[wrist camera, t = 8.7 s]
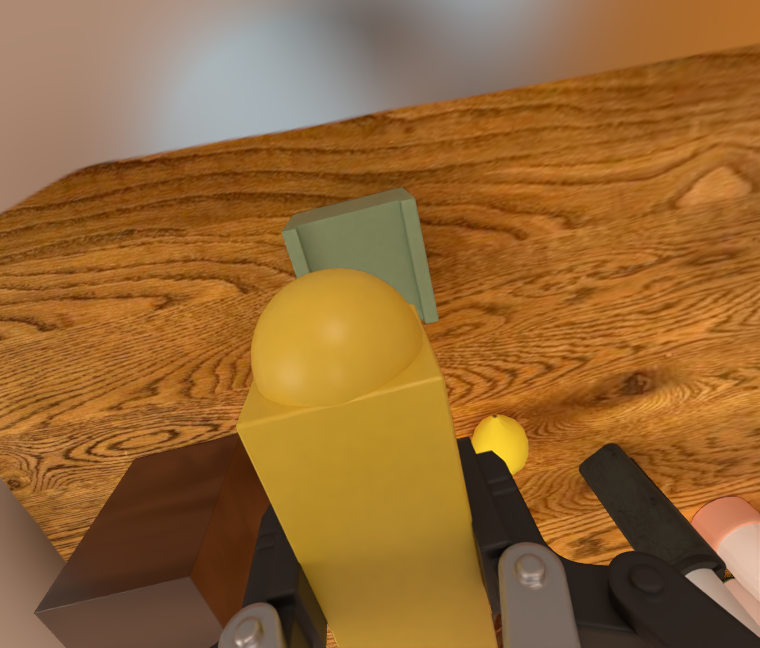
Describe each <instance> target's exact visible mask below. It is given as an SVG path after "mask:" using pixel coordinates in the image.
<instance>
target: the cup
mask: <svg viewBox="0 0 760 648" xmlns="http://www.w3.org/2000/svg"><path fill="white" fill-rule="evenodd" d="M722 583H723V584H724V585H725V586H726V587H727V588H728V590H729V591H730V592H731V593H732V594H733V596H734V597H735V598H736V599H737V600H738V601H739V603H740V604H741V605H742V606H743V607H744V609H745V610H746V611H747V612H748V613H749V614H750V616H751V617H752V618H753V619H754V620H755V622H756V623H757V624H758V625H759V626H760V602H759V601H758V600H757V599H756V598H755V597H754V596H753V595H751V594H750V593H749V592H748V591H747V590H746V589H745V588H744V587H743V586H742V585H741V584H740V583H739V582H738V580H737V579H736V578H729V579H726V580H724V581H723V582H722Z"/></svg>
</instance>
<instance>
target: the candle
mask: <svg viewBox="0 0 760 648" xmlns="http://www.w3.org/2000/svg"><path fill="white" fill-rule="evenodd" d="M579 471H580V473H581V475H582V476H583V477H584V479H585V480H586V482H587V483H588V485H589V486H590V487H591V489H592V490H593V492H594V493H595V495H596V496H597V497H598V499H599V500H600V502H601V503H602V505H603V506H604V508H605V509H606V510H607V512H608V513H609V515H610V516H611V518H612V519H613V520H614V522H615V523H616V525H617V526H618V528H619V529H620V530H621V532H622V533H623V535H624V536H625V538H626V539H627V540H628V542H629V543H630V545H631V546H632V548H633V549H634V551H640V552H646V553H649V554H653V555H655V556H657V557H659V558H661V559H663V560H665V561H666V562H668V563H669V564H670V565H672V566H673V567H674V568H675V569H677V570H678V571H679V572H680V573H681V574H683V575H684V576H685V577H686V578H688V579H689V580H690V581H691V582H692V583H694V584H695V585H696V586H697V587H699V588H700V589H701V590H702V591H703V592H705V593H706V594H707V595H708V596H710V597H711V598H712V599H713V600H714V601H716V602H717V603H718V604H719V605H721V606H722V607H723V608H724V609H725V610H727V611H728V612H729V613H730V614H732V615H733V616H734V617H735V618H736V619H738V620H739V621H740V622H741V623H743V624H744V625H745V626H746V627H747V628H749V629H750V630H751V631H752V632H754V633H755V634H756V635H757V636H758V637H760V626H759V625H758V624H757V623H756V622H755V620H754V619H753V618H752V617H751V616H750V614H749V613H748V612H747V611H746V610H745V609H744V607H743V606H742V605H741V604H740V603H739V601H738V600H737V599H736V598H735V597H734V596H733V594H732V593H731V592H730V591H729V590H728V588H727V587H726V586H725V585H724V584H723V583H722V580H723V578H724V575H725V570H726V564H725V562H724V561H723V560H722V559H721V557H720V556H719V555H718V554H717V553H716V552H715V551H714V550H713V549H712V547H711V546H710V545H709V544H708V543H707V542H706V541H705V540H704V538H703V537H702V536H701V535H700V534H699V533H698V532H697V531H696V529H695V528H694V527H693V526H692V525H691V524H690V523H689V522H688V520H687V519H686V518H685V517H684V516H683V515H682V514H681V513H680V511H679V510H678V509H677V508H676V507H675V506H674V505H673V504H672V502H671V501H670V500H669V499H668V498H667V497H666V496H665V495H664V493H663V492H662V491H661V490H660V489H659V488H658V487H657V486H656V485H655V483H654V482H653V481H652V480H651V479H650V478H649V477H648V476H647V474H646V473H645V472H644V471H643V470H642V469H641V468H640V467H639V465H638V464H637V463H636V462H635V461H634V460H633V459H632V458H629V457H628V456H627V455H626V453H625V452H624V451H623V450H622V449H621V448H620V447H619V446H618V445H617V444H608V445H606V446H604V447H603V448H601V449H600V450H599V451H597V452H596V453H595V454H593V455H592V456H591V457H589V458H588V459H587V460H586V461H584V462H583V463H582V464H581V465H580V468H579Z"/></svg>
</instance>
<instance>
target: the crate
mask: <svg viewBox="0 0 760 648" xmlns="http://www.w3.org/2000/svg"><path fill="white" fill-rule="evenodd" d="M270 503H271V502H270V500H269V498H268V496H267V494H266V492H265V489H264V487H263V485H262V483H261V481H260V479H259V477H258V474H257V472H256V470H255V468H254V466H253V464H252V462H251V460H250V457H249V455H248V453H247V451H246V449H245V447H244V445H243V442H242V440H241V438H240V436H239V434H237V435H232V436H228V437H224V438H220V439H216V440H212V441H208V442H203V443H199V444H195V445H191V446H187V447H183V448H178V449H174V450H170V451H166V452H162V453H158V454H154V455H149V456H145V457H141V458H137V459H134V461H133V462H132V464H131V465H130V467H129V468H128V470H127V471H126V473H125V475H124V476H123V478H122V479H121V481H120V482H119V484H118V485H117V487H116V488H115V490H114V491H113V493H112V494H111V496H110V497H109V499H108V500H107V502H106V504H105V505H104V507H103V508H102V510H101V511H100V513H99V514H98V516H97V517H96V519H95V520H94V522H93V523H92V525H91V526H90V528H89V529H88V531H87V532H86V534H85V536H84V537H83V539H82V540H81V542H80V543H79V545H78V546H77V548H76V549H75V551H74V552H73V554H72V555H71V557H70V558H69V560H68V561H67V563H66V565H65V566H64V568H63V569H62V571H61V572H60V574H59V575H58V577H57V578H56V580H55V581H54V583H53V584H52V586H51V587H50V589H49V590H48V592H47V593H46V595H45V597H44V598H43V600H42V601H41V603H40V604H39V606H38V608H37V609H36V610H35V612H34V614H35V615H36V616H37V617H38V618H39V619H40V620H41V621H42V622H43V623H44V625H45V626H46V627H47V628H48V629H49V630H50V631H51V632H52V633H53V634H54V635H55V636H56V638H57V639H58V640H59V641H60V642H61V643H62V644H63V645H64V646H65V647H66V648H210V647H211V646H213V645H214V644H216V643H217V642H218V641H219V639H220V636H221V634H222V632H223V630H224V628H225V626H226V625H227V623H228V622H229V621H230V619H231V618H232V617H233V616H234V615H235V614H236V613H237V612H239V611H240V610H241V608H242V605H243V600H244V595H245V591H246V586H247V582H248V577H249V573H250V568H251V564H252V559H253V554H254V552H255V545H256V541H257V538H258V532H259V527H260V523H261V518H262V516H263V515H264V513H265V511H266V510H267V508H268V507H269V505H270Z"/></svg>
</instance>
